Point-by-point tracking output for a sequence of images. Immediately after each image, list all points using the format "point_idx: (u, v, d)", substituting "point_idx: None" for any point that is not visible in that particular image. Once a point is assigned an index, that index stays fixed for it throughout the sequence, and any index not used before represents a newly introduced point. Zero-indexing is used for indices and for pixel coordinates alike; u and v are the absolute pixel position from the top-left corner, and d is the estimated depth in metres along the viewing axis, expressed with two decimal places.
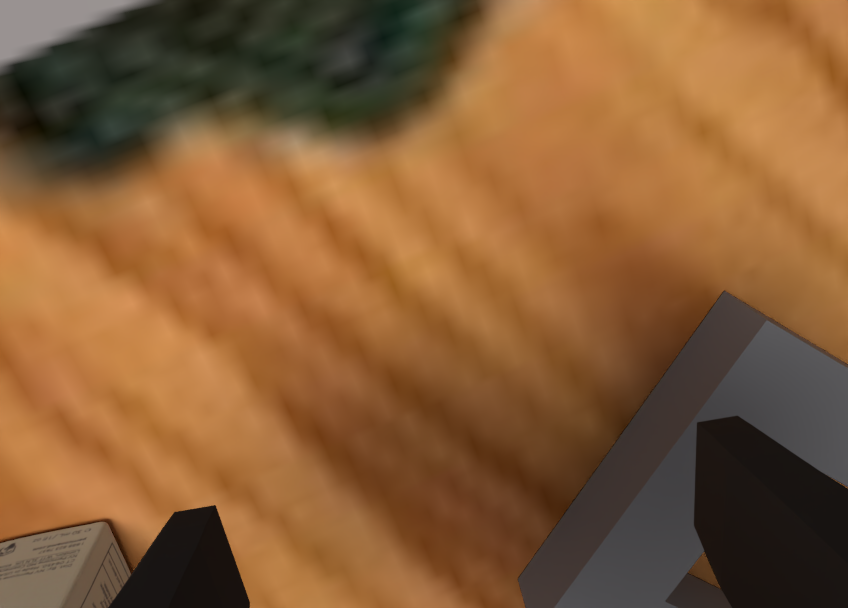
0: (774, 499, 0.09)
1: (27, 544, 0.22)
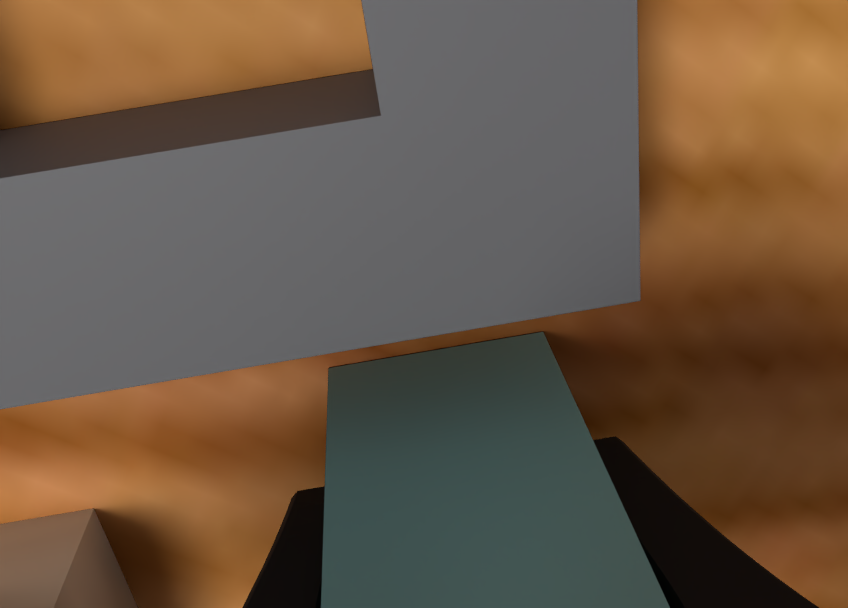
0: None
1: None
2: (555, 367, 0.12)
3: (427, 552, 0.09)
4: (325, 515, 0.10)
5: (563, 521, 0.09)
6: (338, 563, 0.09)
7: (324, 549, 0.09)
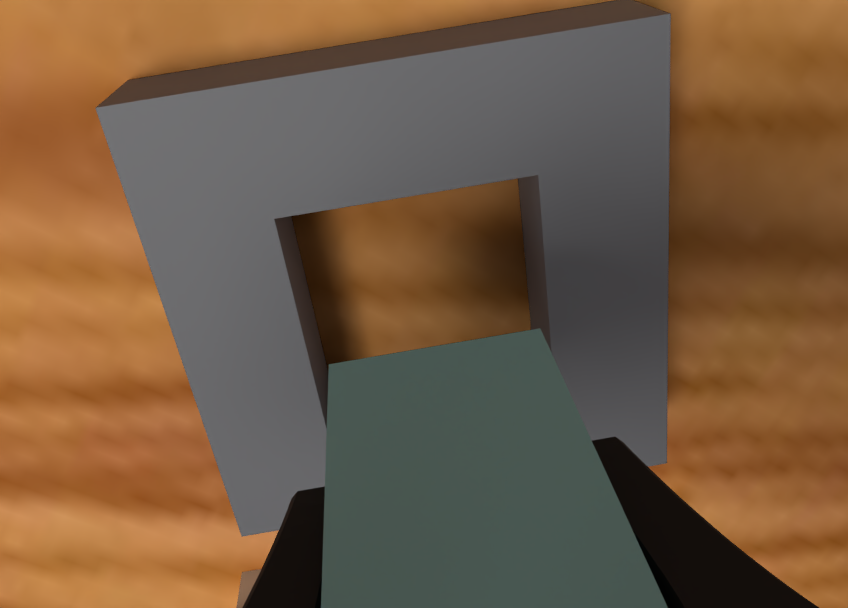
0: None
1: None
2: (552, 363, 0.12)
3: (425, 544, 0.09)
4: (325, 508, 0.10)
5: (559, 513, 0.09)
6: (338, 554, 0.09)
7: (324, 540, 0.09)
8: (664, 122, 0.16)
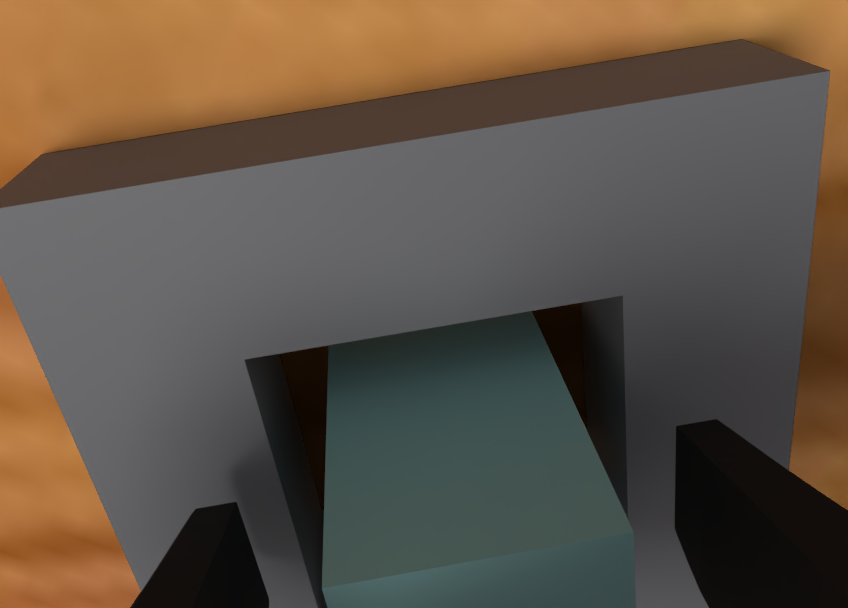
0: (749, 503, 0.09)
1: None
2: (532, 319, 0.13)
3: (416, 467, 0.10)
4: (326, 442, 0.11)
5: (534, 440, 0.10)
6: (339, 477, 0.10)
7: (326, 467, 0.10)
8: (806, 222, 0.11)
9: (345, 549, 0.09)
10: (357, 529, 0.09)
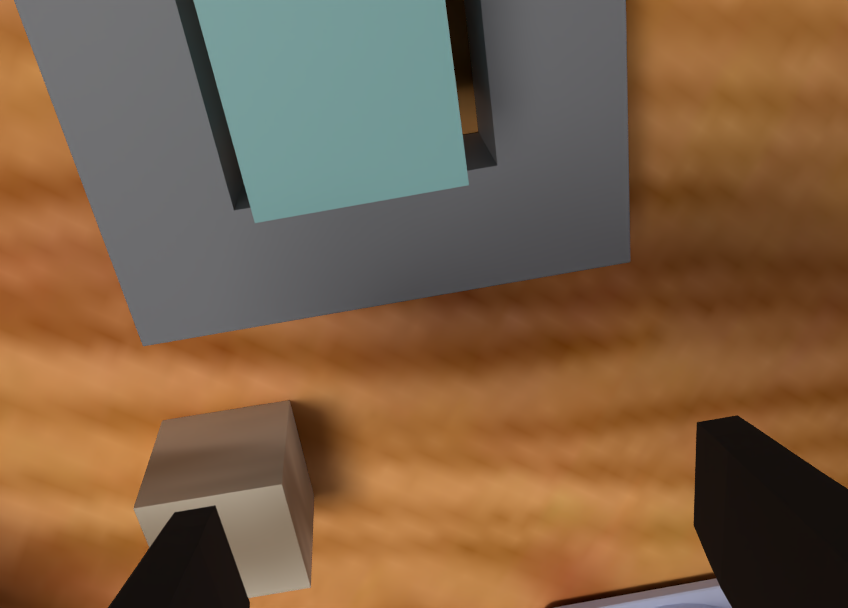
0: (774, 499, 0.09)
1: None
2: None
3: None
4: None
5: None
6: None
7: None
8: None
9: None
10: None
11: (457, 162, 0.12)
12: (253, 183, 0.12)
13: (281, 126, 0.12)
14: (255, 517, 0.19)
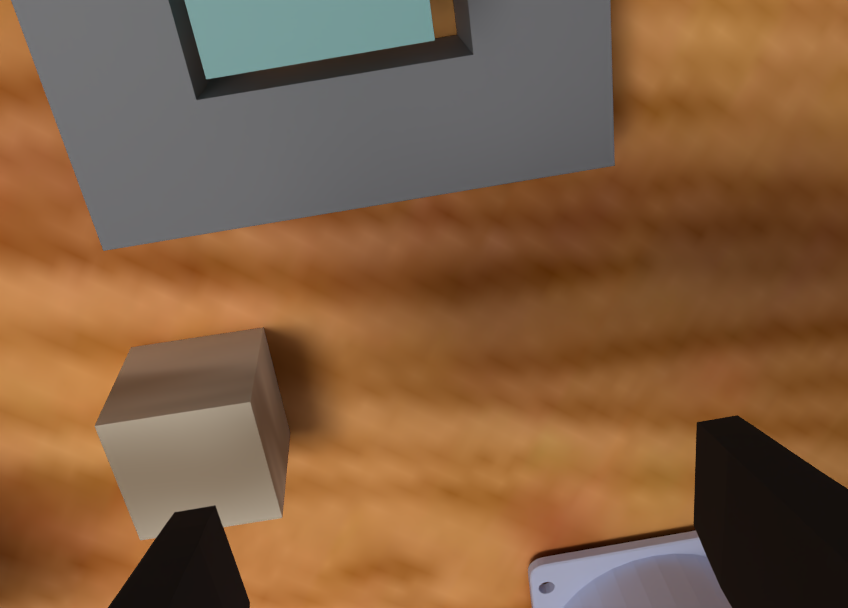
0: (774, 499, 0.09)
1: None
2: None
3: None
4: None
5: None
6: None
7: None
8: None
9: None
10: None
11: (422, 14, 0.12)
12: (203, 33, 0.11)
13: None
14: (223, 438, 0.18)
